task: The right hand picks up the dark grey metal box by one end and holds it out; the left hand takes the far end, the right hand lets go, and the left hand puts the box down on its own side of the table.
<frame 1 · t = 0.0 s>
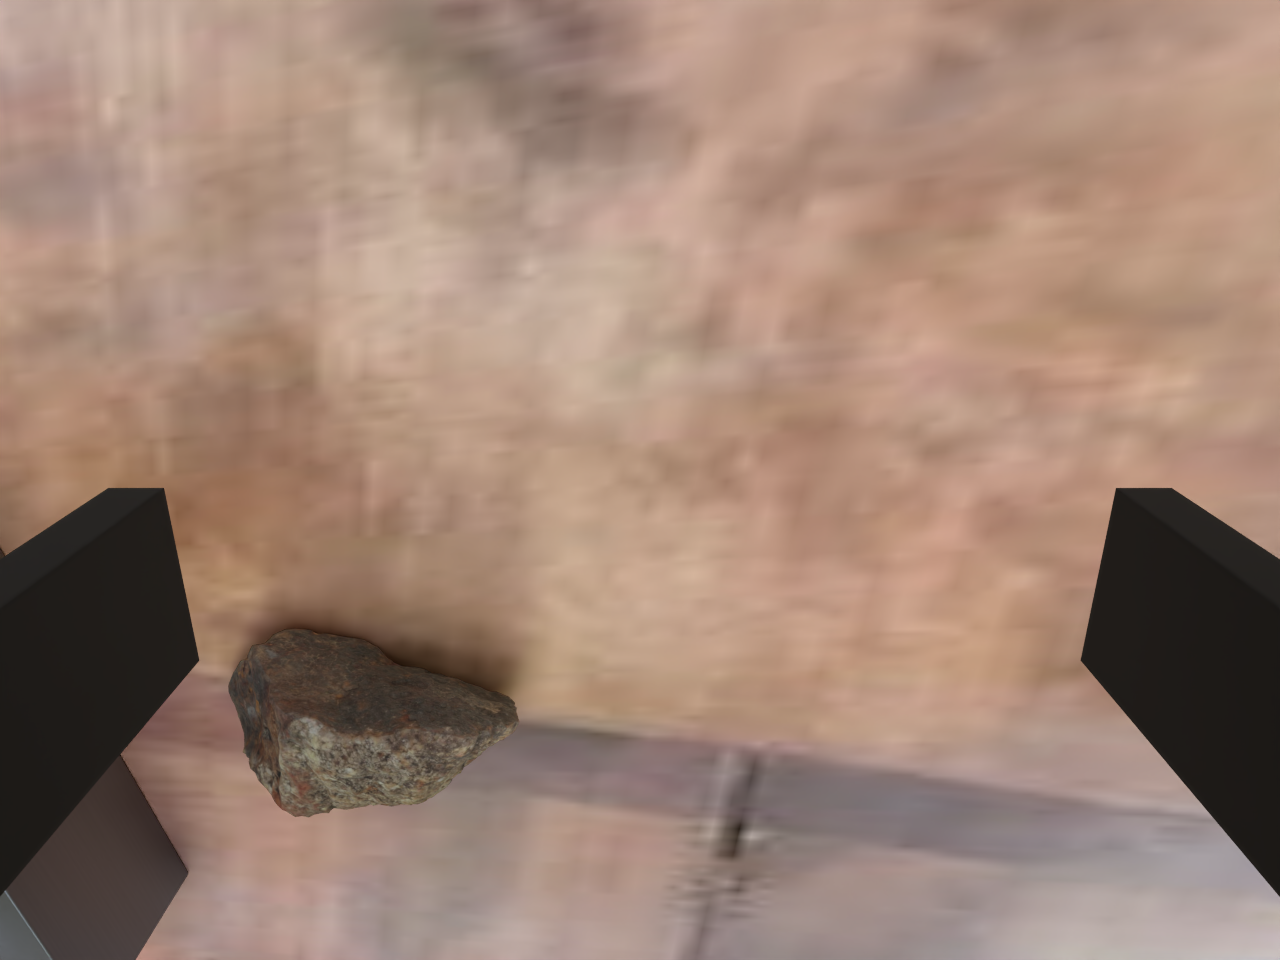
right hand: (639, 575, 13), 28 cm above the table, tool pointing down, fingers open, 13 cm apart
rock: (376, 693, 46), on the table
box: (26, 697, 46), on the table
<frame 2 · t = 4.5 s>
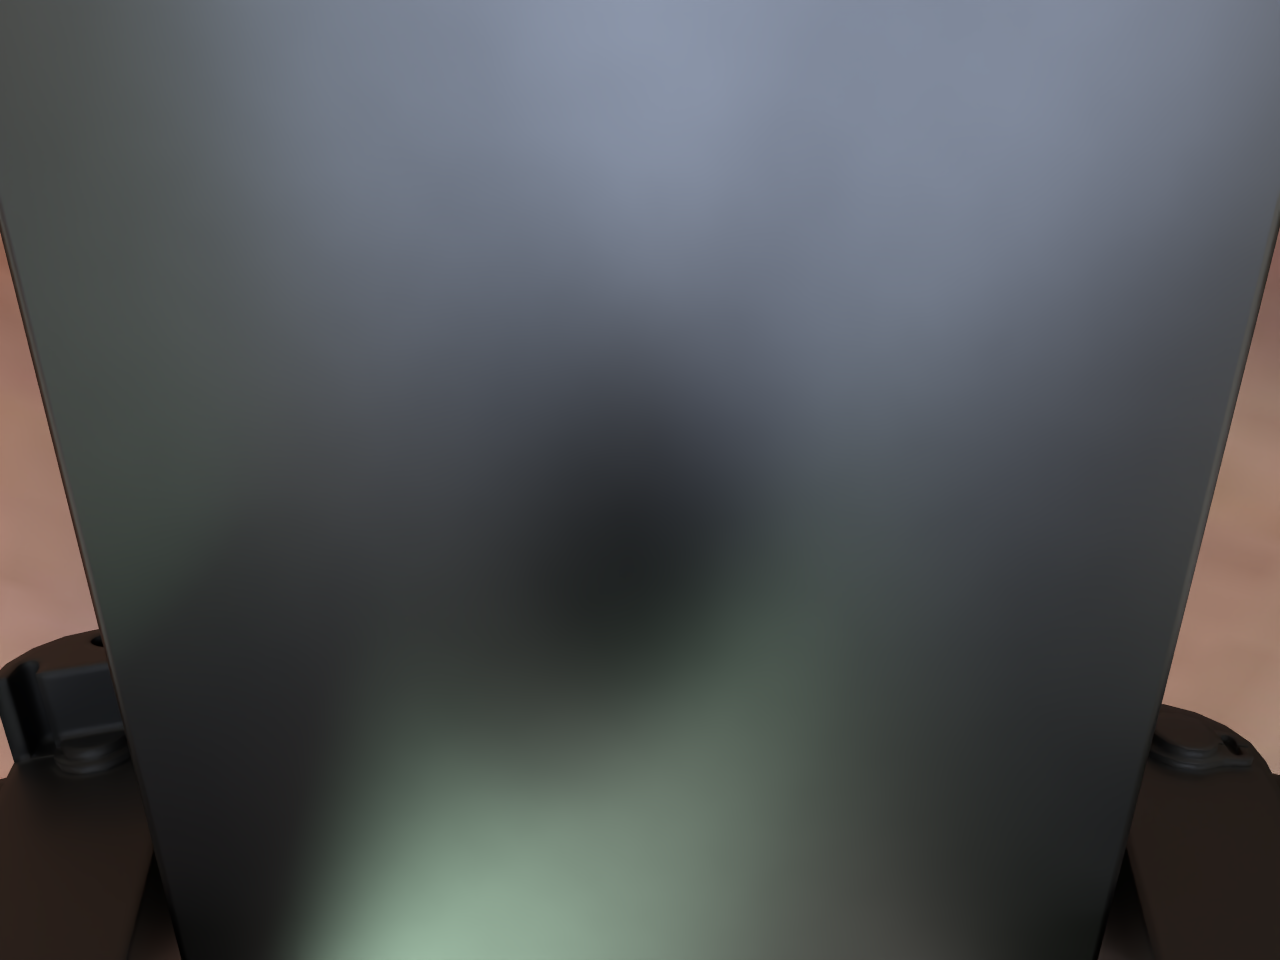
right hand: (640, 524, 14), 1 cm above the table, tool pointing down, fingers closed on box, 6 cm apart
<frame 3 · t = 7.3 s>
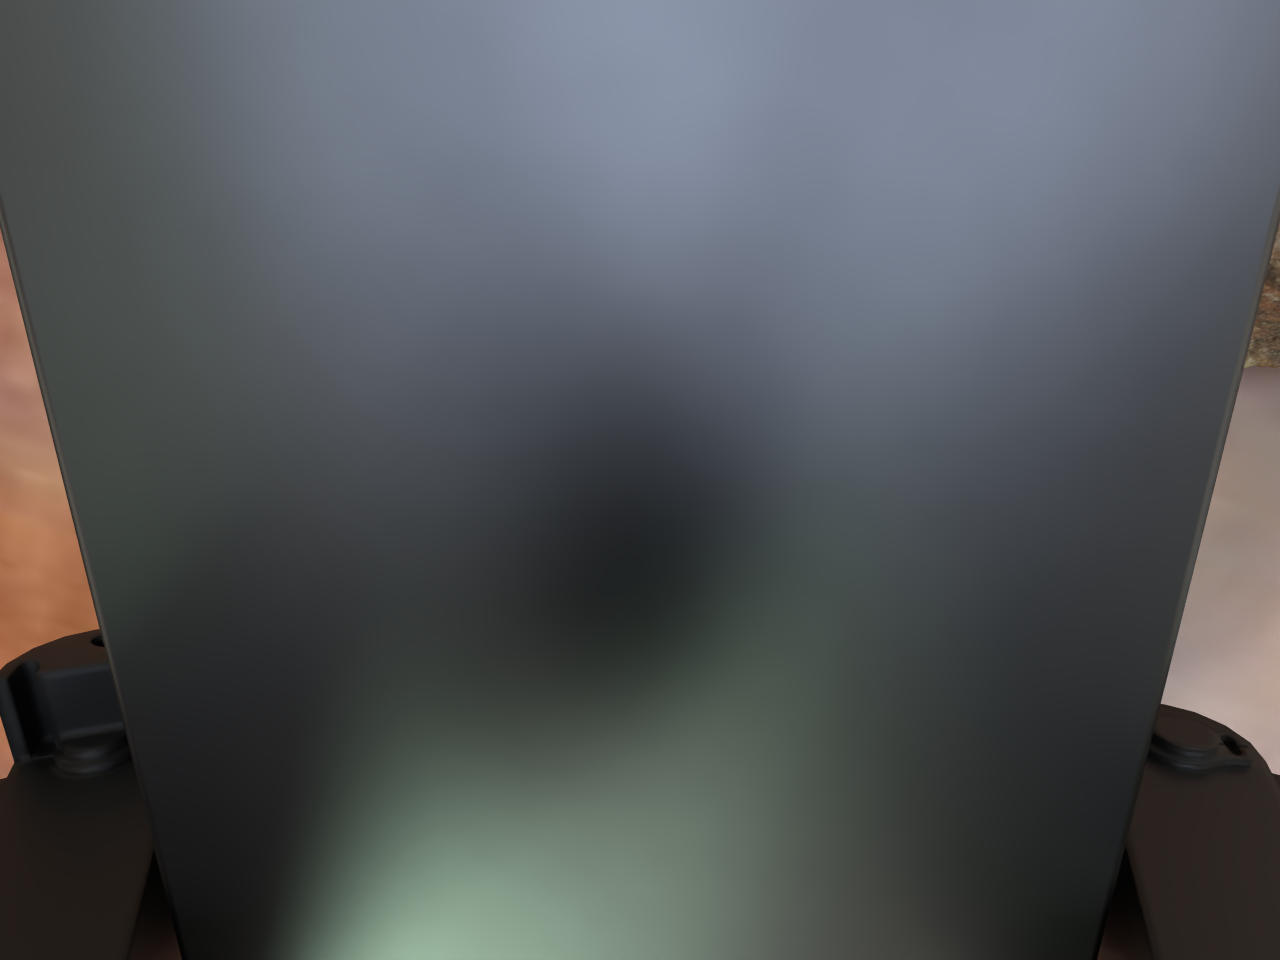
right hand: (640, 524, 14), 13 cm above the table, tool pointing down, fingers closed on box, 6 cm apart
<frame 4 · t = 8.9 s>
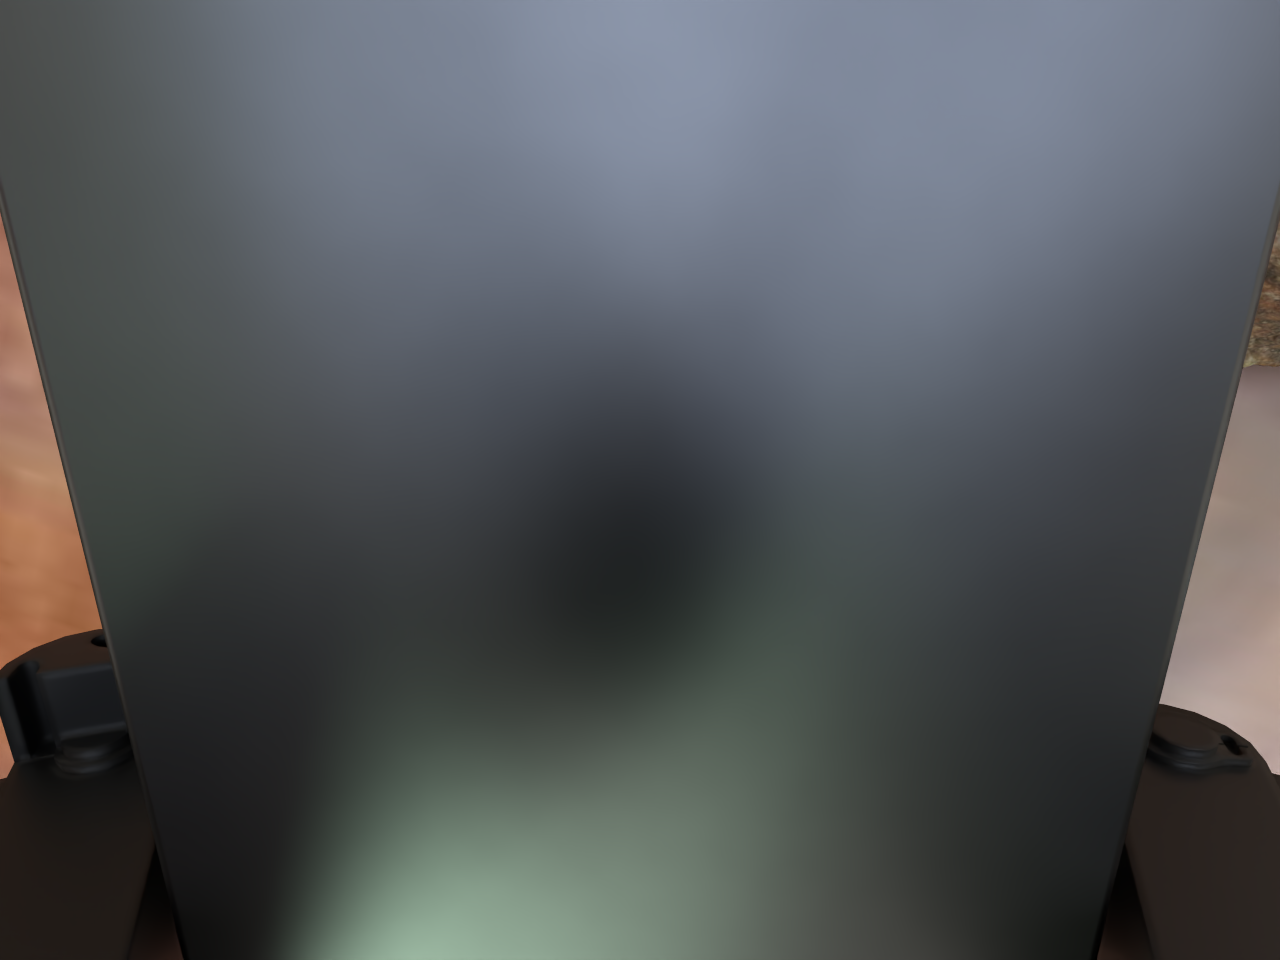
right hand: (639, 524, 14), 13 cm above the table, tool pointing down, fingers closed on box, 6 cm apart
when the right hand's fingers open (13 cm above the table, at t = 10.0 s): box stays where it is, held by the left hand.
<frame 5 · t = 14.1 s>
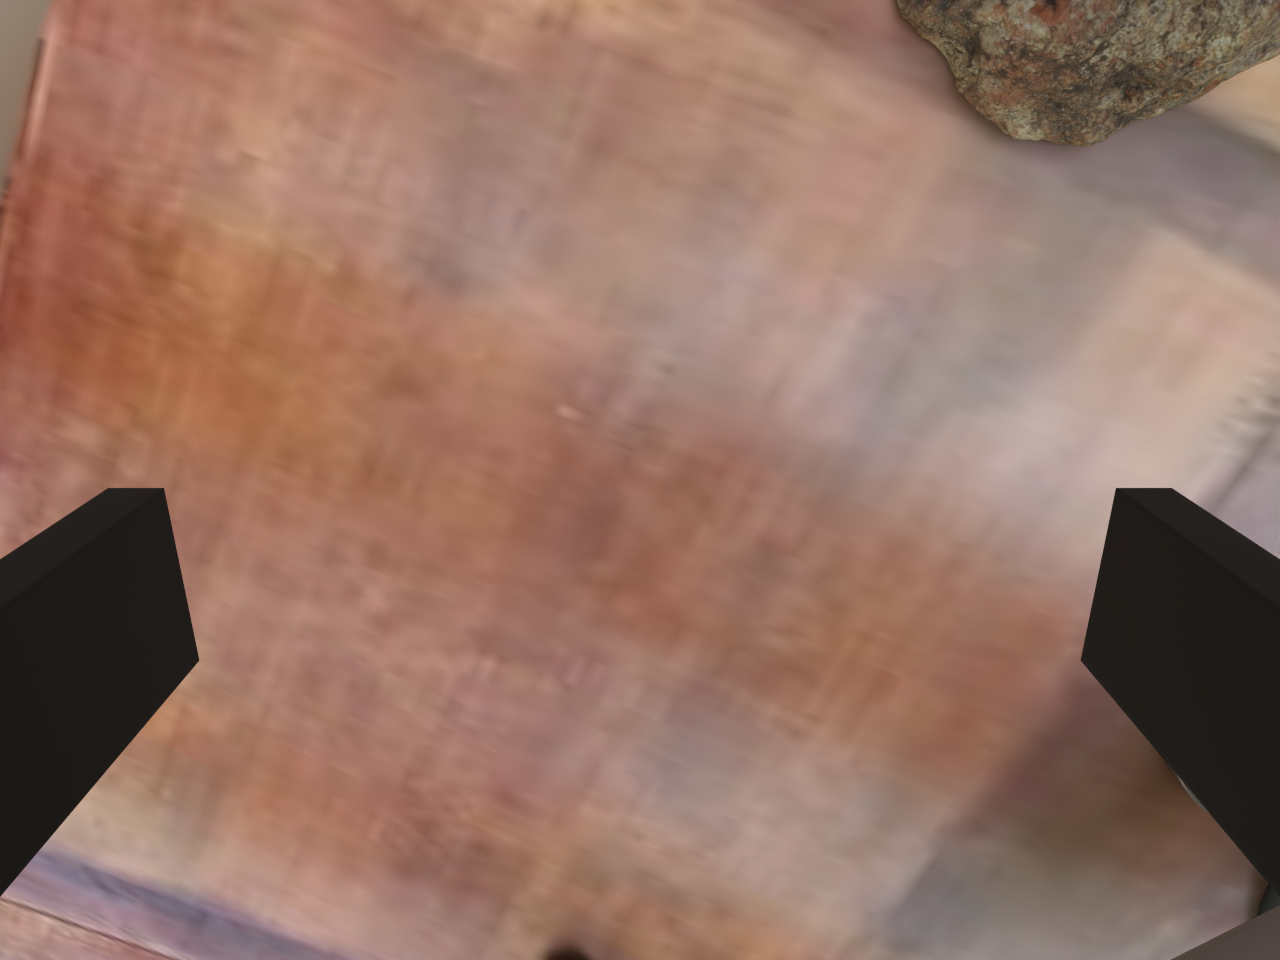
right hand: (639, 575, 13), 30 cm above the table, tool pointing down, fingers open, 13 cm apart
rock: (1061, 16, 37), on the table
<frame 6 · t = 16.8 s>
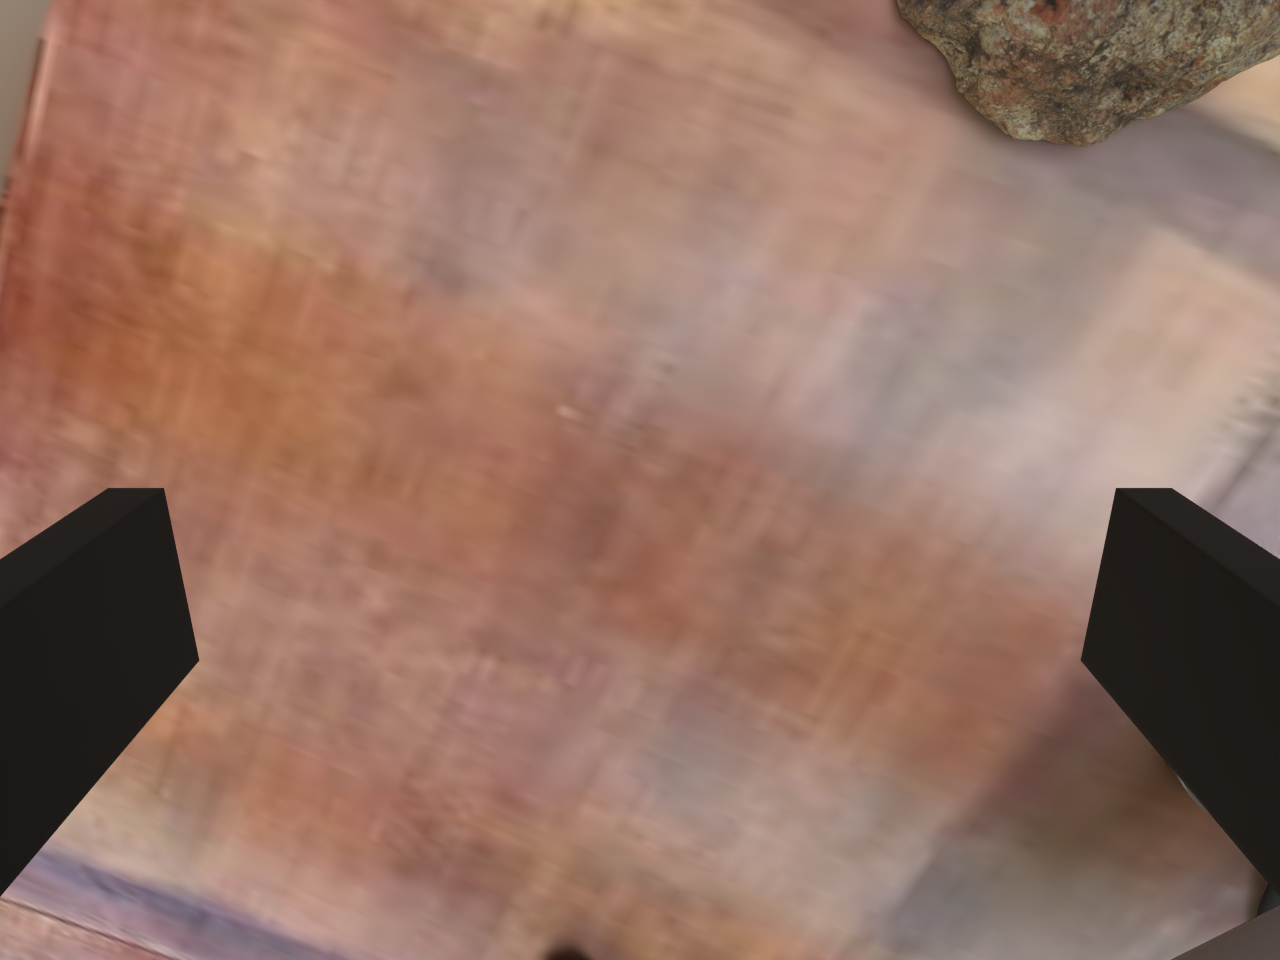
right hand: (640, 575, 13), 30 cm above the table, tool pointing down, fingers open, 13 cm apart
rock: (1061, 16, 37), on the table
when the left hand's fingers open (5 cm above the table, at t = 19.1 s): box stays where it is, on the table.
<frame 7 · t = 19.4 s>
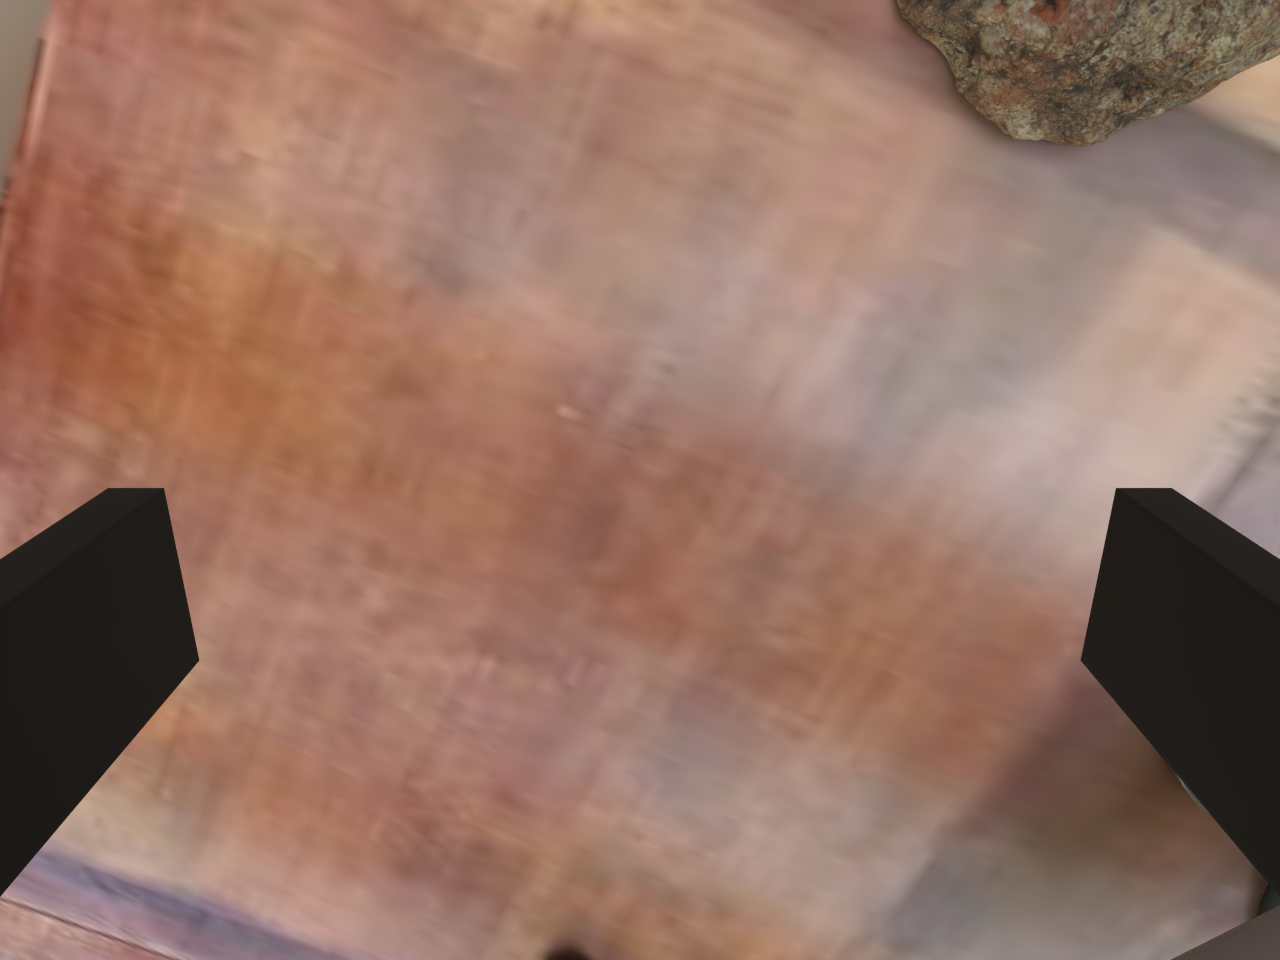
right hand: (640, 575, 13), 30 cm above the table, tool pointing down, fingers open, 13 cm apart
rock: (1061, 16, 37), on the table
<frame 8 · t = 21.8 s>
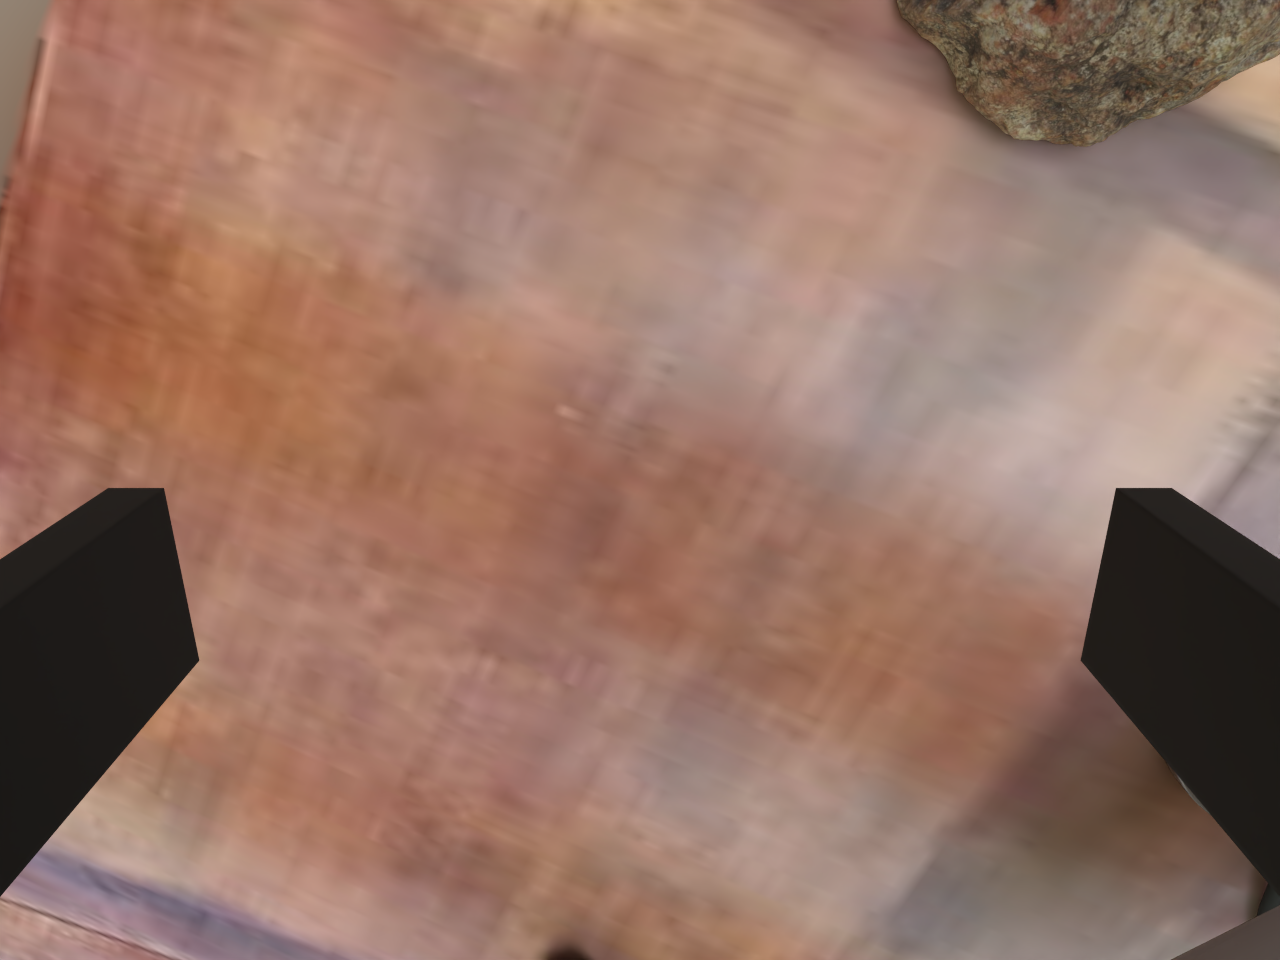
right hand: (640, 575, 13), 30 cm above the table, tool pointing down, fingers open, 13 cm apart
rock: (1061, 16, 37), on the table
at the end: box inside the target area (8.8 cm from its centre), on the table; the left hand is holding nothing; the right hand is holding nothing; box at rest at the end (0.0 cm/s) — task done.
